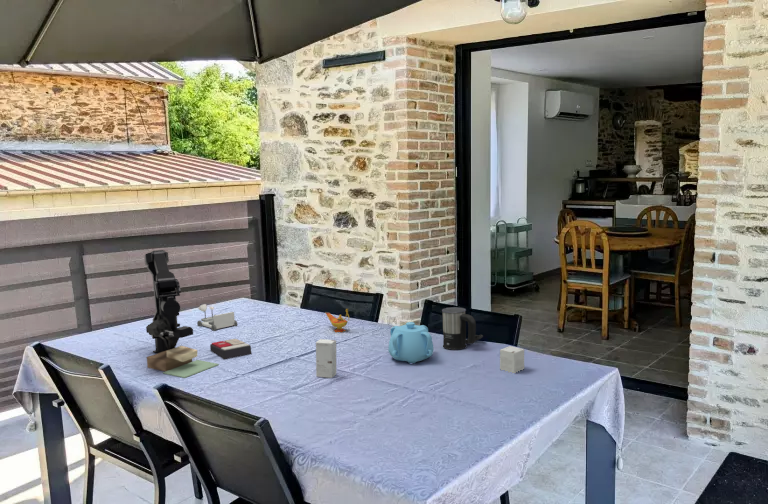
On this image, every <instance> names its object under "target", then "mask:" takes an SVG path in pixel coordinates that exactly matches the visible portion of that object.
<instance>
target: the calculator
mask: <svg viewBox="0 0 768 504" xmlns="http://www.w3.org/2000/svg"><path fill="white" fill-rule="evenodd" d="M209 347H210V352H212V353H213V354H215V355H216V356H219V357H220V358H221V359H223V360H229V359H234V358H239V357H245V356H249V355H250V356H251V355H252V345H250V344H248V343H246V342H245V341H242V340H240V339H238V338H230V339H226V340H222V341H220V340H219V341H215V342H211V344H210V345H209Z"/></svg>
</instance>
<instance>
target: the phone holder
mask: <svg viewBox="0 0 768 504" xmlns="http://www.w3.org/2000/svg"><path fill="white" fill-rule="evenodd" d="M207 308H208V307H207V304H206V303H204V304H200V306H198V310H199V311H200V312H203V313H204V318H200V320H198V321H197V322H196V323H197V326H198V327H199V328H202V327H206V328H210V329H211V331H213V332H217V330H219V329H223V328H226V327H227V328H228V327H232V326H233V327H238V320H236V319H235V311H230V312H224V313H220V314H214V313H213V310H214V309H215V307H214V306H209V310H210V311H211V316H208V317H206V314H207V313H206V311H207Z"/></svg>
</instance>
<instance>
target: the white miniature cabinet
mask: <svg viewBox="0 0 768 504" xmlns="http://www.w3.org/2000/svg"><path fill="white" fill-rule="evenodd" d="M315 363H316V364H315V369H316V370H315V375H316V377H319V378H327V379H330V378H331V379H333V378H334V377H335V376H336V375H337V340H336V339H323V338H320V339H319V340H317V341H316V342H315Z"/></svg>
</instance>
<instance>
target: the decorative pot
mask: <svg viewBox="0 0 768 504" xmlns="http://www.w3.org/2000/svg"><path fill="white" fill-rule="evenodd" d="M389 330H390V331H389V333H390V338H389V342H388V354H389V355H390V356H391V358H393V359H394V360H395V361H402V362H408V364H410V363H414V364H416V363H417V362H420V361H424V360H427V359H429V358H431V357H432V356H433V354H434V343H433V337H432V335H431V333H429V328H428V327H427V326H426V325H424V324H422V325H420V324H419V325H417V324H416V323H415V322H413V321H408V322H406V323H405V324H403V325H394V326H392V327H391V328H390V329H389Z"/></svg>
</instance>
